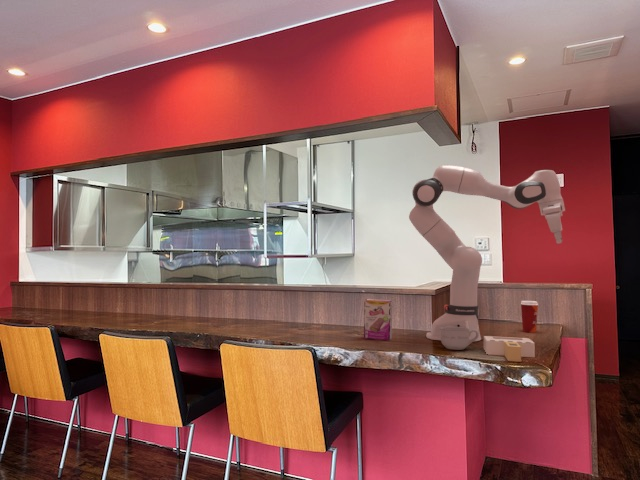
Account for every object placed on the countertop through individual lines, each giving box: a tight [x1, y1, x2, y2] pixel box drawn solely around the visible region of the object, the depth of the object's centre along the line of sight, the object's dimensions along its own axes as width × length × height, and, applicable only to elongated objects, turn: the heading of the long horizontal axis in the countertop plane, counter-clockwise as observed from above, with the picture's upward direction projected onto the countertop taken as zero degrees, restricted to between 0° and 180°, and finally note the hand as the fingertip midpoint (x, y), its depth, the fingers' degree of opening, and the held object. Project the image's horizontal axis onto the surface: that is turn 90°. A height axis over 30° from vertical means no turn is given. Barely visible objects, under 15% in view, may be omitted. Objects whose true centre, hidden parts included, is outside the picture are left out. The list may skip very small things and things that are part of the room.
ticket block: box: [483, 335, 536, 358], centre depth 164 cm, size 16×9×5 cm, turn 76°
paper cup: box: [520, 300, 539, 334], centre depth 208 cm, size 8×8×14 cm
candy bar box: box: [363, 298, 393, 342], centre depth 188 cm, size 11×5×16 cm, turn 71°
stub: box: [504, 342, 522, 363], centre depth 156 cm, size 4×8×5 cm, turn 166°
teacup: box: [440, 327, 479, 351], centre depth 171 cm, size 14×11×8 cm
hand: (559, 242), depth 179 cm, fingers open, 8 cm apart
